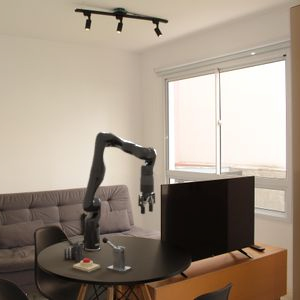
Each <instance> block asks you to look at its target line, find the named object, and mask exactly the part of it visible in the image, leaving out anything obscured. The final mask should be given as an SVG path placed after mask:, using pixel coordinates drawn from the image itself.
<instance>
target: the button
mask: <svg viewBox="0 0 300 300" xmlns="http://www.w3.org/2000/svg"><path fill="white" fill-rule="evenodd" d="M82 260H83V262H84V263H89V262H90V260H91V258H88V257H84V258H82Z"/></svg>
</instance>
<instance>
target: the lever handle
mask: <svg viewBox="0 0 300 300" xmlns="http://www.w3.org/2000/svg"><path fill="white" fill-rule="evenodd" d="M101 241H102V243H103V244H107V245H108V246H110V247H111V248H112V249H113V248H117V246H116V245H114V244H113V243H112V242H110V241H109V239H108V237H105V236H104V237H103V238H102V240H101ZM118 248H119V249H121V248H120V247H118ZM122 251H123V250H122V249H121V254H122Z"/></svg>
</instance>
